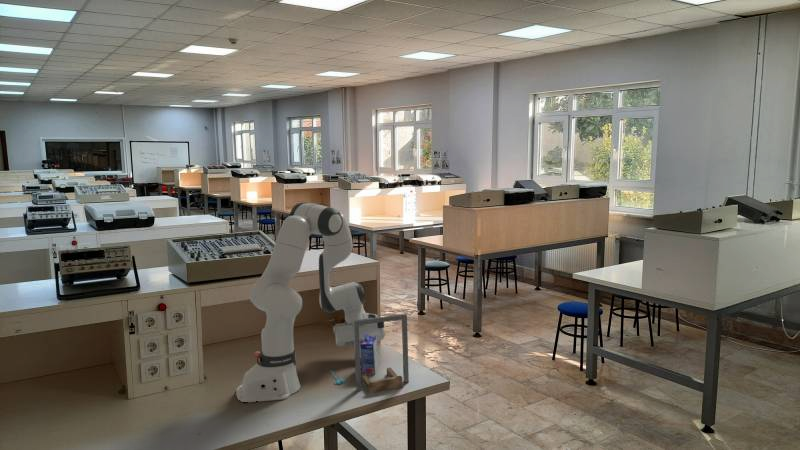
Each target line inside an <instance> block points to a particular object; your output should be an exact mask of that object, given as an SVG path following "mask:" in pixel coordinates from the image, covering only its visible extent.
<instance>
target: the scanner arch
mask: <svg viewBox="0 0 800 450" xmlns="http://www.w3.org/2000/svg"><path fill="white" fill-rule="evenodd" d="M395 321H401V335H402V337H401V338H402V341H401V342H402V371H403V373H402V375H403V377H402V382H403V383H406V384H407V383H409V382H410V380H409V378H410V377H409V375H410V374H409V346H408V345H409V343H408V342H409V341H408V340H409V339H408V337H409V336H408V315H407V314H406V313H401V314H394V315H387V316H378V317H377V318H369V319H362V320H354V321H353V325H354V344H353V345H354V346H353V347H354V367H355V368H354V370H355V390H356V391H357V392H360V391H362V381H361V372H362V369H361V353H360V344H361V343H359V325H366V324H373V323H377V328H383V329H384V328H385V323H389V322H395Z"/></svg>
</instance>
